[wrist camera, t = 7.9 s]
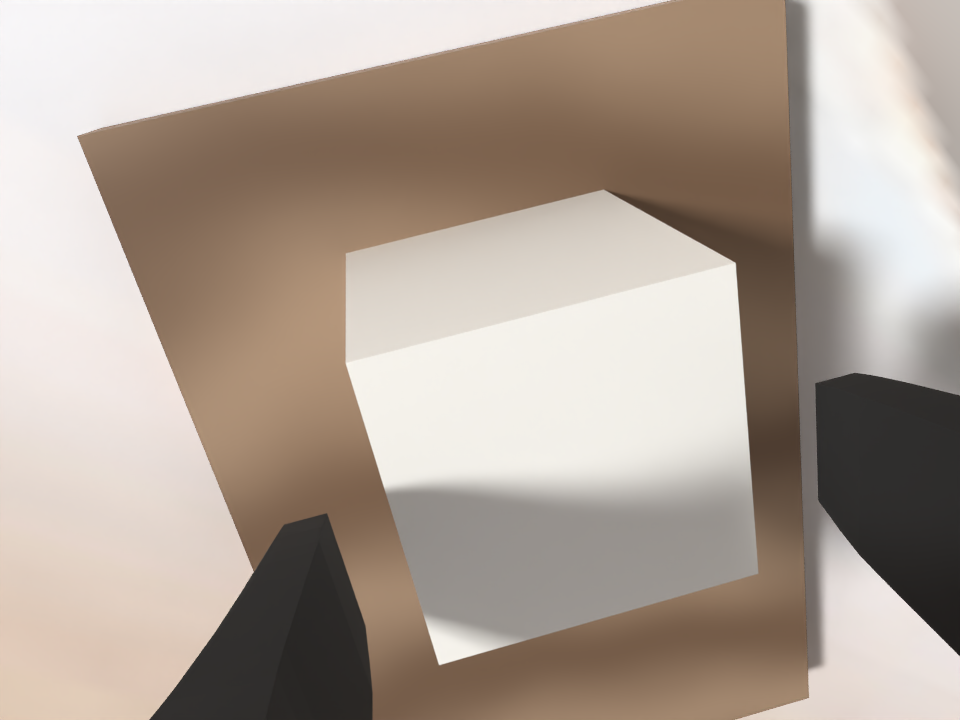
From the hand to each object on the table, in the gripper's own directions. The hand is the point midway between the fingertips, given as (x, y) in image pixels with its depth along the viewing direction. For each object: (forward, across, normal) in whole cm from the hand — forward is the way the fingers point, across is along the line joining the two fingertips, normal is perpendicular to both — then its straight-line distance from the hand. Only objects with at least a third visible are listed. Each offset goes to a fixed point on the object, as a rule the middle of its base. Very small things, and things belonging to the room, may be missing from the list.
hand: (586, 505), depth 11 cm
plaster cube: (+7, 0, 0) cm, 7 cm away
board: (+8, 0, +4) cm, 9 cm away
